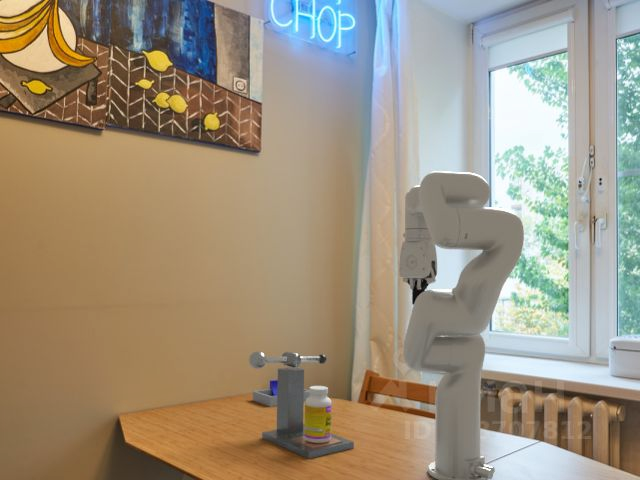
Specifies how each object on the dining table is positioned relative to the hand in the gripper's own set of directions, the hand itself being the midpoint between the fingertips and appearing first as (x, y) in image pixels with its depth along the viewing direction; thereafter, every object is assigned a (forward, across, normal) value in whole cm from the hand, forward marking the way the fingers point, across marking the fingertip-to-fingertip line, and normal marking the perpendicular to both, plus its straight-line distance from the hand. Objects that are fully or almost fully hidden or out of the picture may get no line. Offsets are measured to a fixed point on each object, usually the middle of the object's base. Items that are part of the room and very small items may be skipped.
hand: (418, 304), depth 152 cm
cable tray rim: (+35, -56, -5) cm, 66 cm away
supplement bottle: (+34, -9, -27) cm, 44 cm away
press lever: (+17, -20, -28) cm, 38 cm away
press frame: (+35, -13, -27) cm, 46 cm away
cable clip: (+35, -56, -5) cm, 66 cm away
